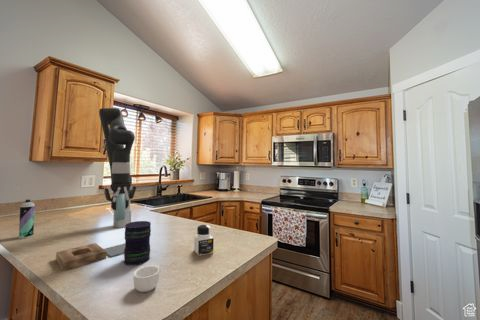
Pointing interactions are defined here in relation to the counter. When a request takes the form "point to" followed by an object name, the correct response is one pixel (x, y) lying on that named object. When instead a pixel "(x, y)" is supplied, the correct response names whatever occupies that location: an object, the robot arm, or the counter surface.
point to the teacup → (146, 278)
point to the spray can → (26, 219)
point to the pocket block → (80, 256)
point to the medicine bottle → (203, 240)
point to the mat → (115, 250)
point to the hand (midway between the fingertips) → (119, 208)
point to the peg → (120, 207)
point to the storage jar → (137, 242)
